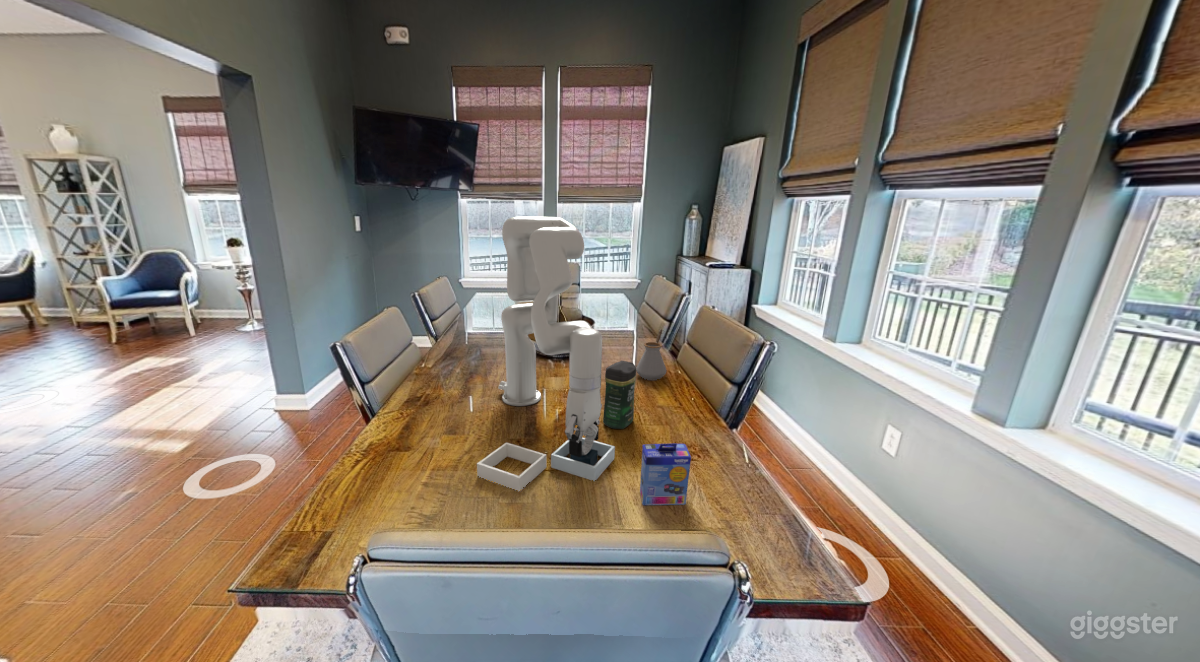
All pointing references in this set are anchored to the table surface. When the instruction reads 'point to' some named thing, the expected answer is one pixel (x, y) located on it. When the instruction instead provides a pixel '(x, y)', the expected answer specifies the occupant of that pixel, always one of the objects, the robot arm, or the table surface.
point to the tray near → (506, 478)
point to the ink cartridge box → (664, 474)
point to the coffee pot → (652, 361)
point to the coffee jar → (619, 395)
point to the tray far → (578, 467)
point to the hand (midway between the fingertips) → (584, 446)
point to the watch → (587, 446)
